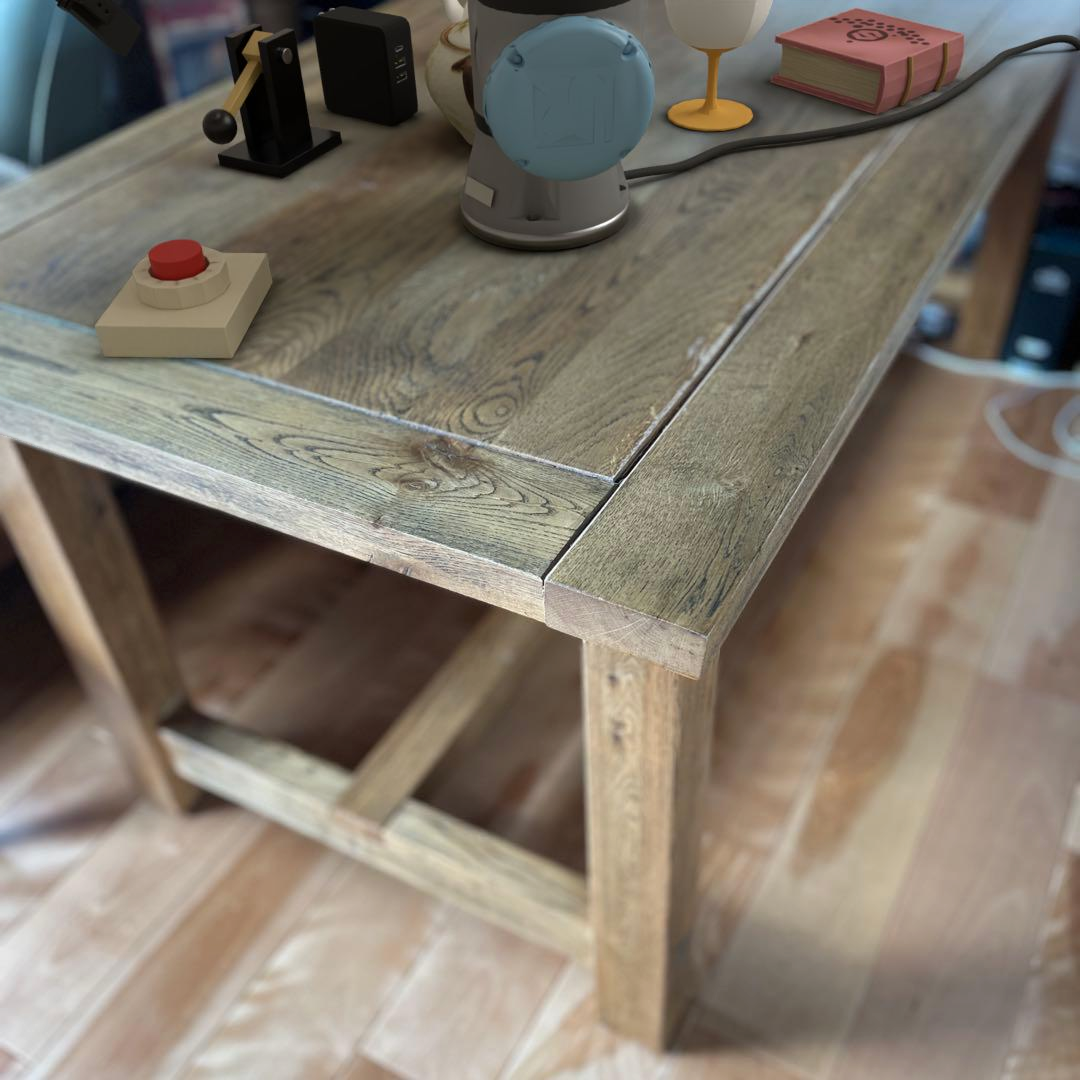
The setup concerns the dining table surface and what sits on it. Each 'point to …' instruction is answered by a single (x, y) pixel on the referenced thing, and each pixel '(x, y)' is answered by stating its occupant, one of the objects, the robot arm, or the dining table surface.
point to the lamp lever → (235, 96)
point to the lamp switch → (274, 110)
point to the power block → (186, 309)
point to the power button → (177, 260)
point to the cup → (714, 54)
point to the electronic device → (366, 64)
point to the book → (868, 59)
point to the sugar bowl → (453, 78)
